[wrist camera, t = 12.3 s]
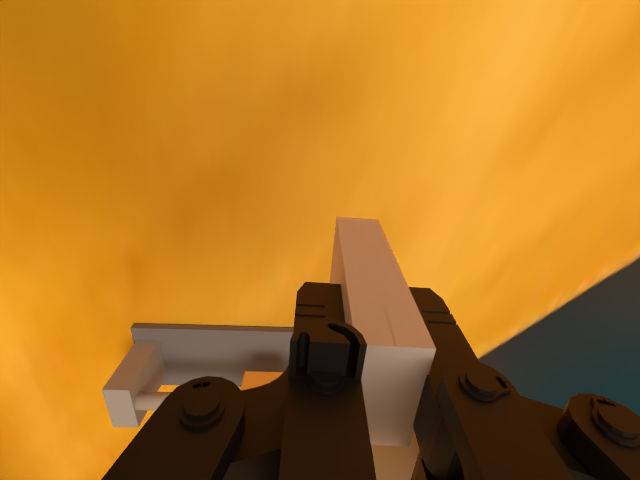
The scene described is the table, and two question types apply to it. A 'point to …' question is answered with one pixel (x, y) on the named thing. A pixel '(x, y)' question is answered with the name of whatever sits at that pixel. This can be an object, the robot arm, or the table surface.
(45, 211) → the table surface
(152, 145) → the table surface
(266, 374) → the sleeve
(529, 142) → the table surface
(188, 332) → the rail
